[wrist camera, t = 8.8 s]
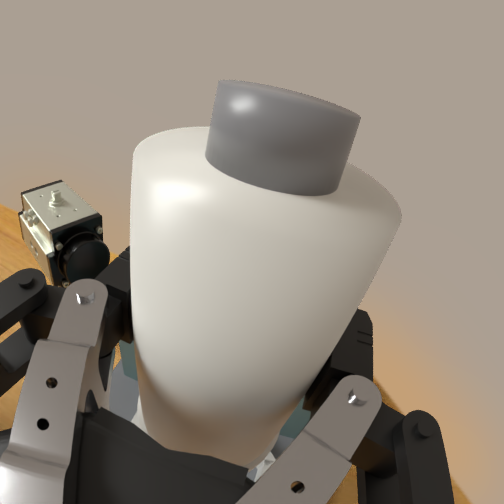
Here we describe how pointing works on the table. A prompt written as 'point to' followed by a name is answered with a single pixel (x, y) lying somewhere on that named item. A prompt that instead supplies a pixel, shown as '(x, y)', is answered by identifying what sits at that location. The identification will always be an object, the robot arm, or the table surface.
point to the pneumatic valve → (63, 234)
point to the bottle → (247, 265)
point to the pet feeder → (127, 394)
